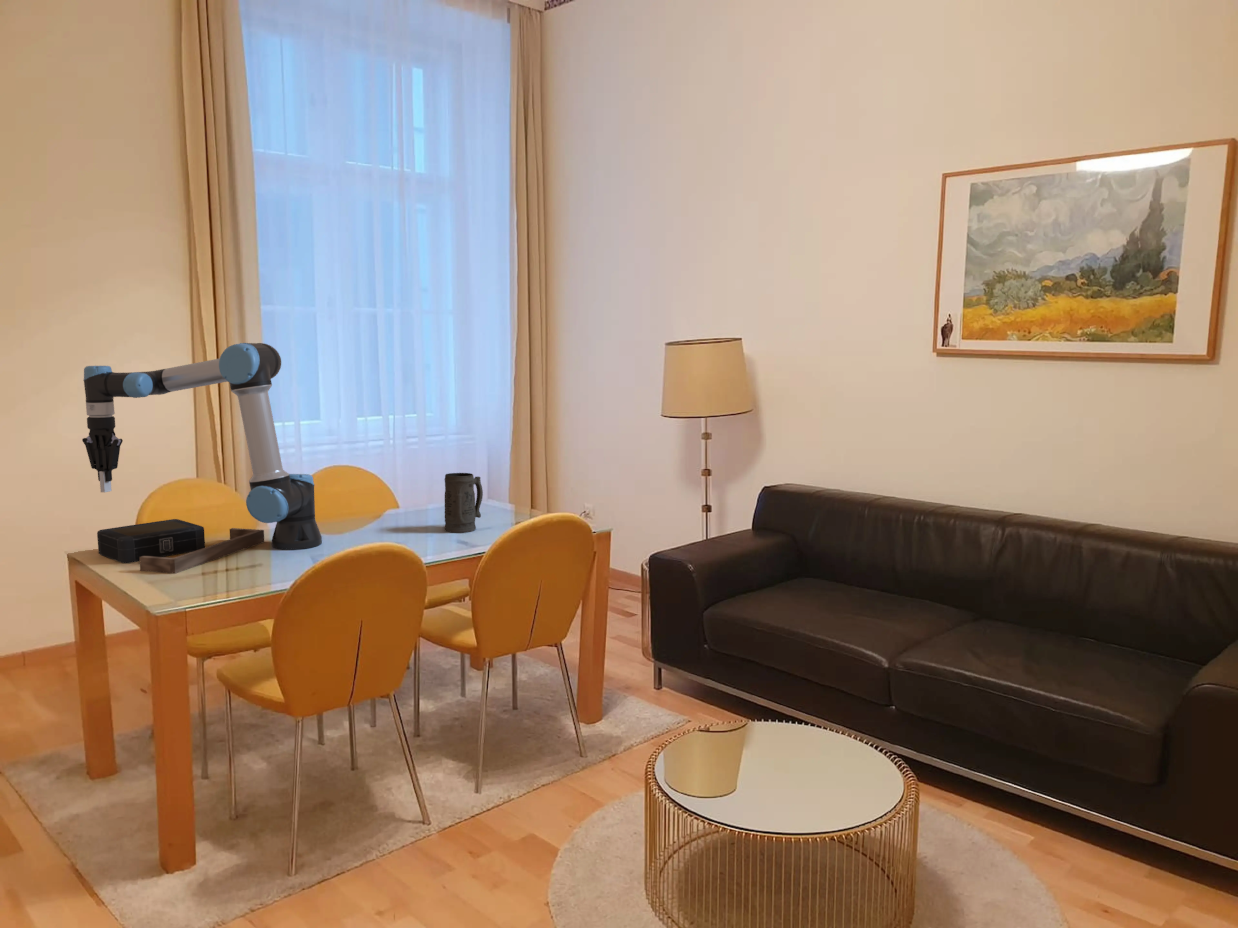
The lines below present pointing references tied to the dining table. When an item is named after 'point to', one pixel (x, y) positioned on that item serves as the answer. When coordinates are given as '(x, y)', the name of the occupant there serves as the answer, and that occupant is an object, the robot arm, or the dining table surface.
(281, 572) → the dining table surface
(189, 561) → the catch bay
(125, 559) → the cash box
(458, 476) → the beer stein
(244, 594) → the dining table surface
